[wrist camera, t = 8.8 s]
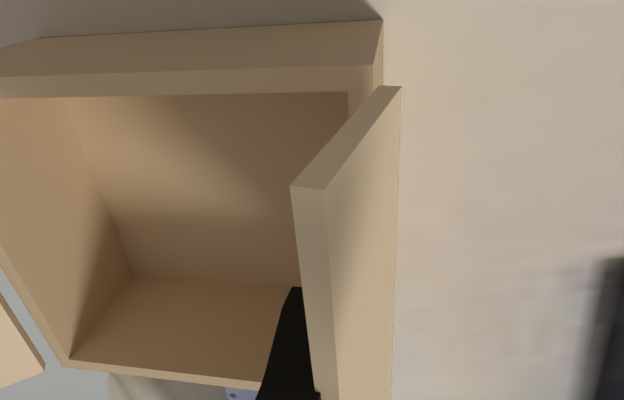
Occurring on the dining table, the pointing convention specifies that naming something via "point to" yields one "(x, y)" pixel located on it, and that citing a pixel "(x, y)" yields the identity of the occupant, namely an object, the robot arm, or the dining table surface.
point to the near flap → (351, 250)
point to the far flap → (16, 349)
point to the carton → (168, 187)
